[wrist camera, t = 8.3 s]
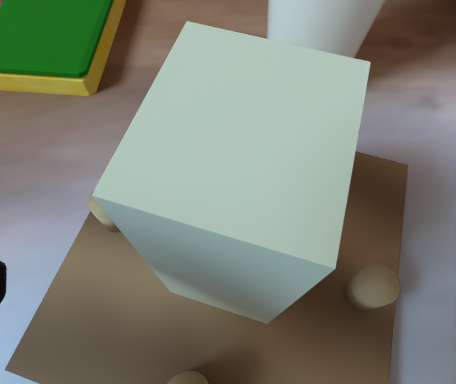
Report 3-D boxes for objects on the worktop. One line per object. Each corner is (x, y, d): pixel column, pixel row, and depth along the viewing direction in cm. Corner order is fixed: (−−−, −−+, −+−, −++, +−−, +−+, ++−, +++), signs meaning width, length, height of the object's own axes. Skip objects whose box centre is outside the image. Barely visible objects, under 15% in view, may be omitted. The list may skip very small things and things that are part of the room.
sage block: (267, 324, 15) (335, 268, 6) (170, 291, 15) (91, 195, 6) (292, 221, 17) (370, 61, 8) (206, 196, 17) (187, 21, 8)
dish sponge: (-10, 93, 22) (-36, 64, 20) (54, -33, 28) (40, -66, 26) (97, 101, 22) (83, 72, 20) (138, -28, 28) (131, -61, 26)
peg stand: (365, 503, 13) (403, 543, 10) (18, 369, 15) (-29, 371, 12) (399, 174, 19) (427, 144, 16) (154, 109, 21) (144, 73, 18)
